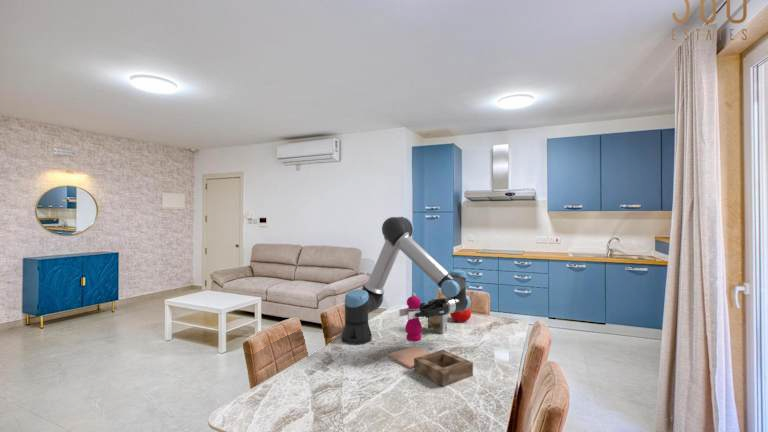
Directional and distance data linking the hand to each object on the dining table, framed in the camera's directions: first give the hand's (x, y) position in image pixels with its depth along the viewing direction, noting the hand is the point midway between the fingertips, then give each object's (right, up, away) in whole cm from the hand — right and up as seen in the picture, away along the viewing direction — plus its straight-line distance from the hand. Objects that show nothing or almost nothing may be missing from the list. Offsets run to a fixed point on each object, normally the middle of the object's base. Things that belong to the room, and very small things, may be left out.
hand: (404, 314), depth 149 cm
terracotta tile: (+4, -20, +3) cm, 20 cm away
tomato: (+36, -20, +58) cm, 71 cm away
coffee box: (+20, -20, +39) cm, 48 cm away
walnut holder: (+14, -20, -12) cm, 27 cm away
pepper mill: (+4, -12, +3) cm, 13 cm away
